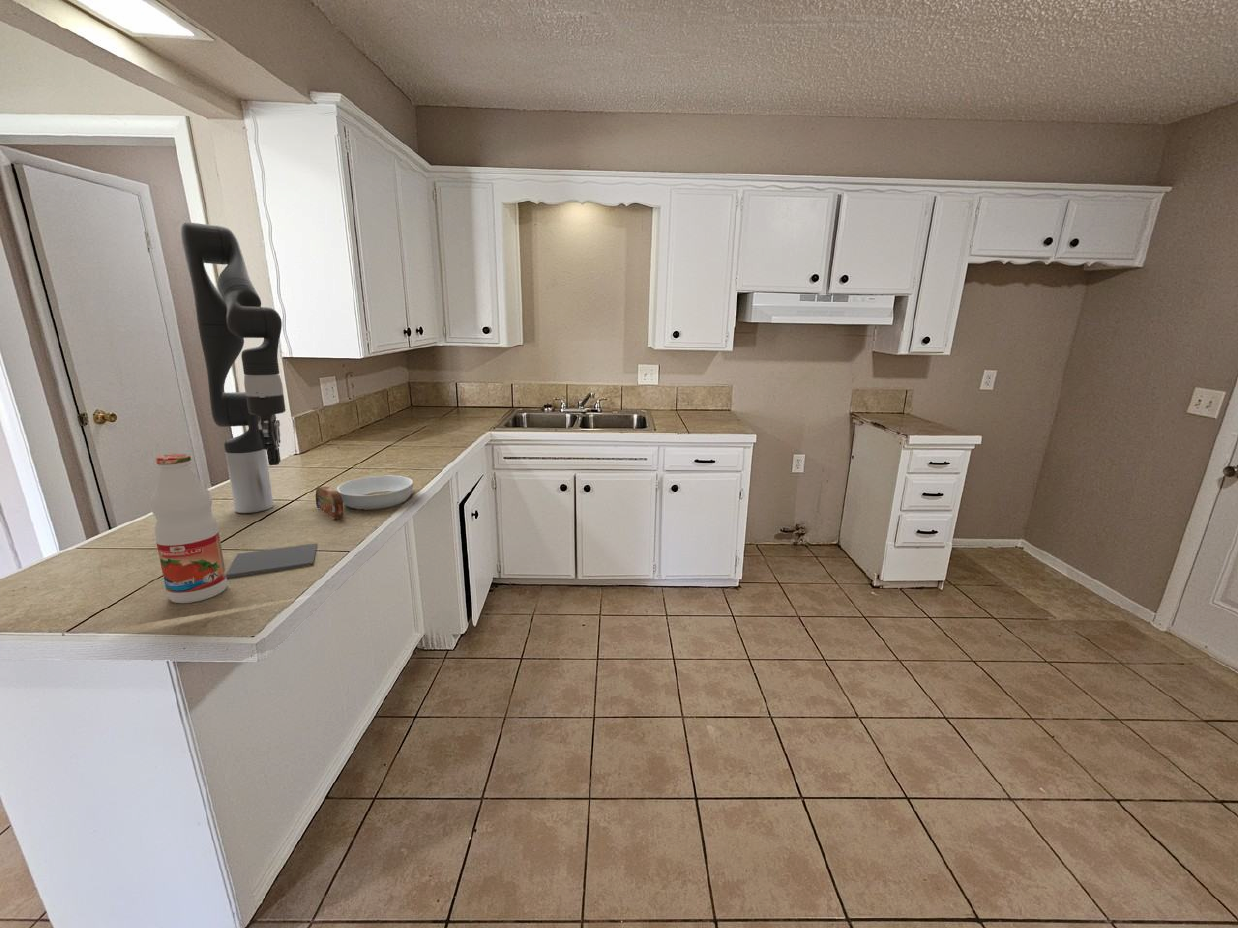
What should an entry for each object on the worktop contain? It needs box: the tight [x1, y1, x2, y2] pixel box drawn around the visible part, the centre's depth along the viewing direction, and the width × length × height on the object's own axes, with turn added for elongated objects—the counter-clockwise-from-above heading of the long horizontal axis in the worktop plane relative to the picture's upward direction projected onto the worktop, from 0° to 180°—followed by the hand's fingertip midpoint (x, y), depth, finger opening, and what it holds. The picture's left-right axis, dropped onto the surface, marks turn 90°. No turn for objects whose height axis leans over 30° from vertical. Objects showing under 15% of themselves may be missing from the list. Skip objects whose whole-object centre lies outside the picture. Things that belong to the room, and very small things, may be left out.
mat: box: [226, 542, 318, 579], centre depth 118 cm, size 12×16×1 cm
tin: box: [315, 486, 344, 521], centre depth 146 cm, size 15×3×8 cm, turn 47°
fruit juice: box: [149, 453, 228, 604], centre depth 100 cm, size 9×9×28 cm
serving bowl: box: [336, 474, 414, 511], centre depth 157 cm, size 21×21×7 cm
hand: (274, 463), depth 129 cm, fingers closed
